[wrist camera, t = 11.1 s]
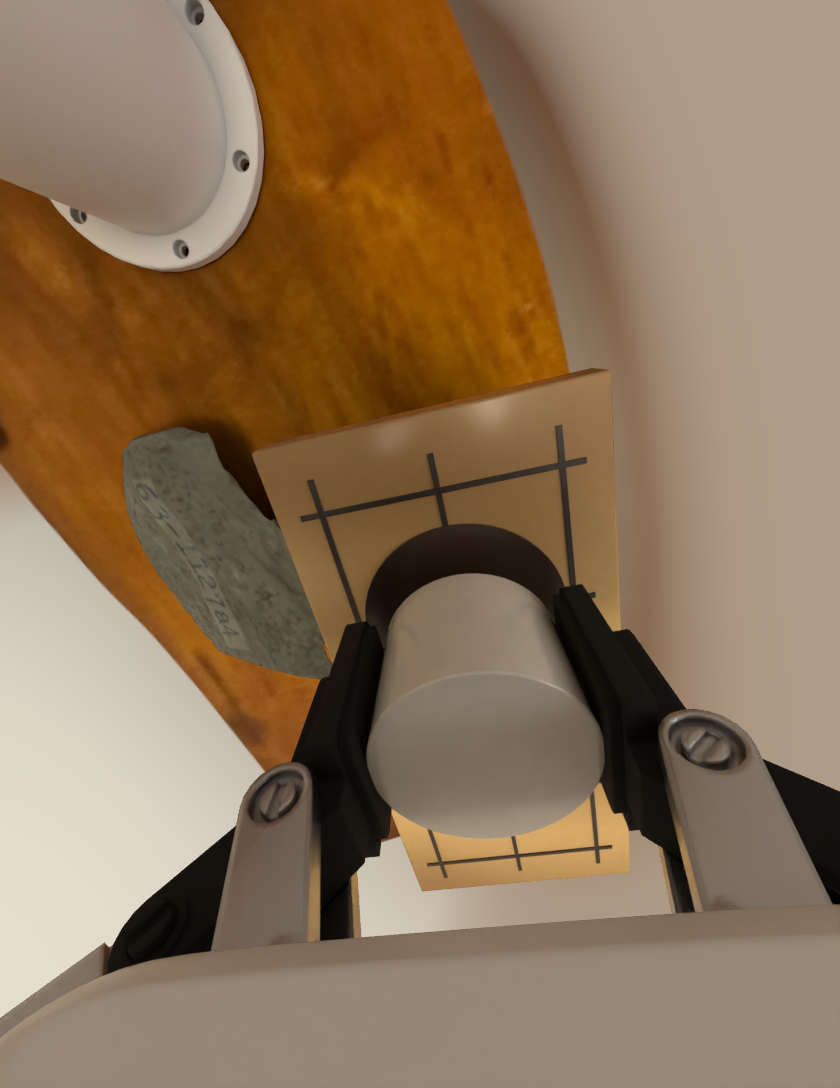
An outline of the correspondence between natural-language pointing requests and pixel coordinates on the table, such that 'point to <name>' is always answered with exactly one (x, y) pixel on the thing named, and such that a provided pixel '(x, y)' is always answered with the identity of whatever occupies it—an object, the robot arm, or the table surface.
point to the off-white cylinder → (480, 713)
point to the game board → (464, 557)
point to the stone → (220, 553)
